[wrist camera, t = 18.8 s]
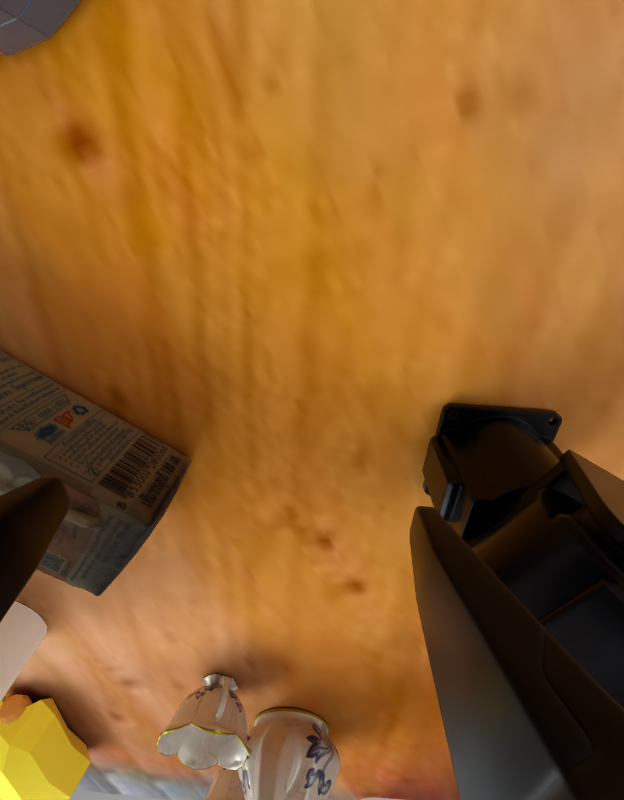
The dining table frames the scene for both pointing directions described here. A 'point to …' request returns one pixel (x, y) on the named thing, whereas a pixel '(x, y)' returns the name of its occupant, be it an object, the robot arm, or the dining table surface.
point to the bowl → (30, 22)
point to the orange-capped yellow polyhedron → (38, 751)
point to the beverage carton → (84, 473)
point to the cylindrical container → (18, 642)
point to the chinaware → (251, 746)
